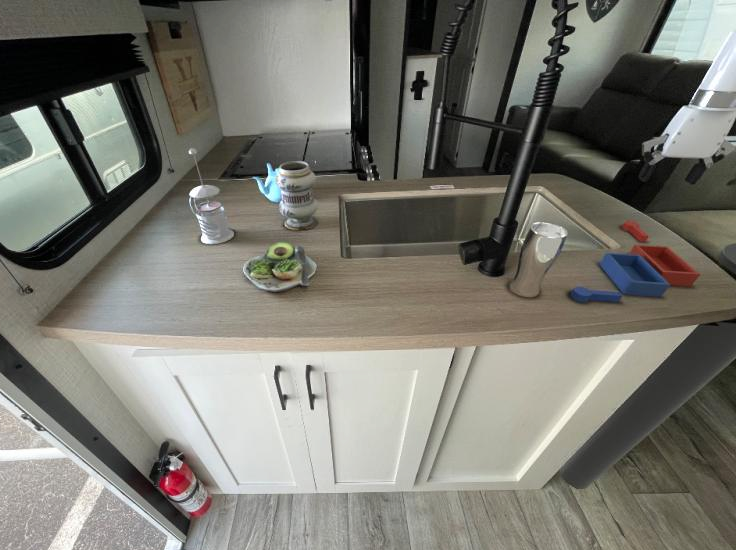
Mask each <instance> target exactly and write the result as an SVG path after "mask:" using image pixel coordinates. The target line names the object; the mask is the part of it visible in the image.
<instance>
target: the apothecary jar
mask: <svg viewBox="0 0 736 550" xmlns="http://www.w3.org/2000/svg"><path fill="white" fill-rule="evenodd" d="M279 168H280V171H279V174H278V175H277V176H276V179H275V181H276V184H277V186H278V187H279V188H281V195H282V201H281V202H279V205H278V210H279V212H280V213H281V215H282V216H284V217H285V218H287V219H286V220H285V221H284V227H286V228H287V229H289V230H292V231H302V230H309V229H311V228H313V227H314V226H315V225H316V219H315V218H313V216H314V214H316V212H317V211H318V209H319V203H318V201H317V199H316V198H315V197H314V189H313V186H314V185H315V183H316V181H317V177H316V174H315V173H314V172H313V171H312V170H311V169H310V165H309V163H307V162H306V161H304V160H303V161H302V160H296V161H295V160H294V161H293V160H292V161H288V162H284V163H282V164H280V165H279Z"/></svg>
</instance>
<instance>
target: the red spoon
mask: <svg viewBox="0 0 736 550" xmlns="http://www.w3.org/2000/svg"><path fill="white" fill-rule="evenodd" d="M639 226H640V223H638V222H637V221H633V220H625V221H624V222H623V223H622V226H621V229H622V230H623V231H626V232H629V233H630V234H631V235H632V236H633V237H634V238H635V239H637V241H639V242H641V243H645V242H647V241H648V239H649V238H650V235H649V234H648V233H646V232H645V231H644V230H643V229H642V228H641V227H639Z"/></svg>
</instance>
